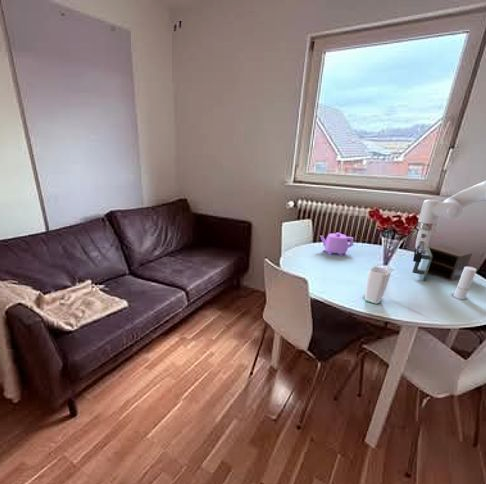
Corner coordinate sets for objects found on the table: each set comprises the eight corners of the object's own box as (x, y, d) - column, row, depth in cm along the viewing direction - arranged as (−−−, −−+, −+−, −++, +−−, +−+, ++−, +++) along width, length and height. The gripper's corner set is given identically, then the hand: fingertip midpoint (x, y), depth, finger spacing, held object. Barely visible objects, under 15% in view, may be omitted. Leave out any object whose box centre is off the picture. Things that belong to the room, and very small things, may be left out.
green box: (410, 279, 160) (418, 254, 154) (409, 269, 172) (416, 246, 166) (424, 282, 157) (432, 256, 152) (421, 271, 169) (429, 247, 164)
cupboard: (450, 282, 158) (460, 256, 152) (421, 271, 170) (429, 247, 164) (462, 278, 163) (472, 253, 157) (433, 267, 175) (441, 244, 169)
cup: (383, 300, 139) (392, 270, 133) (378, 306, 135) (386, 275, 128) (366, 295, 144) (374, 265, 138) (361, 300, 139) (368, 270, 133)
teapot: (349, 250, 199) (353, 231, 194) (352, 257, 188) (357, 237, 183) (317, 247, 203) (320, 228, 198) (318, 254, 192) (321, 234, 187)
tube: (461, 301, 140) (473, 271, 133) (451, 297, 143) (462, 267, 137) (466, 299, 141) (478, 269, 135) (456, 295, 145) (467, 265, 139)
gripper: (435, 231, 142) (425, 265, 149) (435, 222, 155) (425, 255, 162) (416, 228, 146) (407, 262, 153) (417, 220, 159) (409, 252, 166)
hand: (416, 258), depth 157 cm, fingers open, 9 cm apart
